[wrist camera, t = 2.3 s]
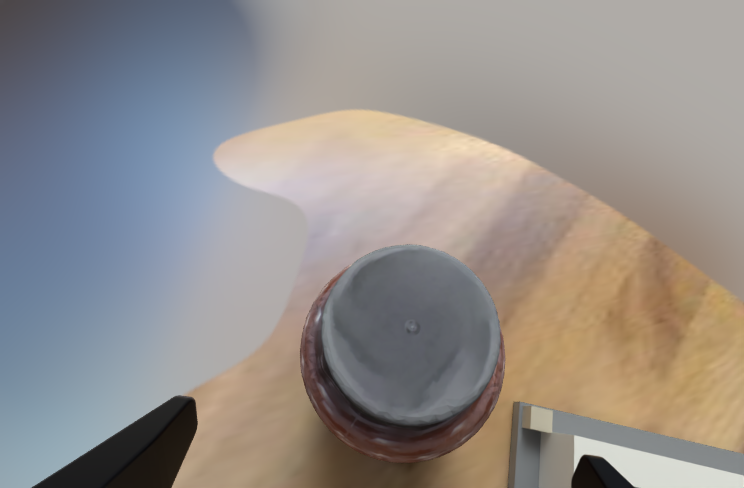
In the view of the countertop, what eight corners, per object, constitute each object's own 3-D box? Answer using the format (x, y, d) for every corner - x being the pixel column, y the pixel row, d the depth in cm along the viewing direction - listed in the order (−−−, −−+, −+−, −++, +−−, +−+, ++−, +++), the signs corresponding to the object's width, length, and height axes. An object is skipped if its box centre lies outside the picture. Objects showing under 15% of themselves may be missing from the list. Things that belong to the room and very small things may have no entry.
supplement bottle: (467, 341, 19) (582, 263, 9) (424, 465, 17) (510, 554, 7) (360, 294, 20) (349, 173, 10) (306, 406, 18) (221, 402, 8)
